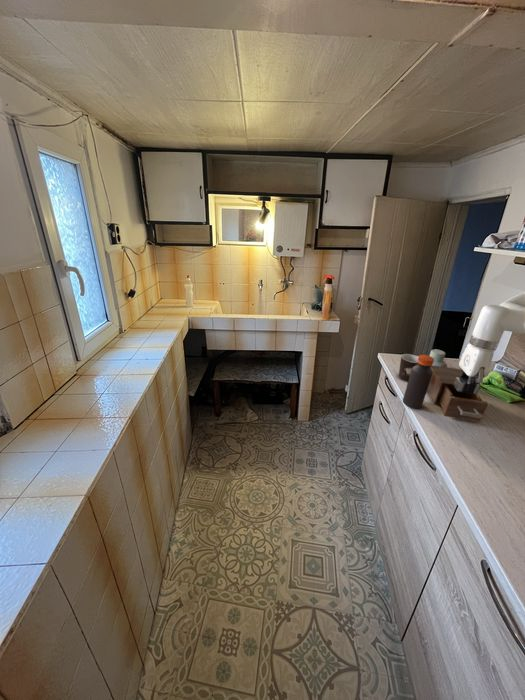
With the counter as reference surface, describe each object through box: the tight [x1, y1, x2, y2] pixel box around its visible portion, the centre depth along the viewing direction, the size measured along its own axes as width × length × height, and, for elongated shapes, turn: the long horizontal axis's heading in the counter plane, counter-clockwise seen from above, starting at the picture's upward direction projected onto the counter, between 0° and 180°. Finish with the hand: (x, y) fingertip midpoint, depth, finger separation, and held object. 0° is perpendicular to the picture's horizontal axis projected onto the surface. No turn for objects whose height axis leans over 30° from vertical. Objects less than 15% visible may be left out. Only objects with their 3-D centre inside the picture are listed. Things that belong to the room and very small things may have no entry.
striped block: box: [454, 377, 481, 394], centre depth 100 cm, size 6×4×4 cm
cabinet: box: [427, 366, 480, 406], centre depth 113 cm, size 15×13×10 cm
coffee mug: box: [398, 353, 419, 383], centre depth 124 cm, size 12×9×10 cm
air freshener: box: [429, 348, 448, 368], centre depth 133 cm, size 11×8×10 cm
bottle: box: [402, 354, 434, 409], centre depth 105 cm, size 7×7×20 cm
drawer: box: [438, 385, 489, 423], centre depth 102 cm, size 18×11×8 cm, turn 166°
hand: (464, 389), depth 101 cm, fingers closed on striped block, 4 cm apart
